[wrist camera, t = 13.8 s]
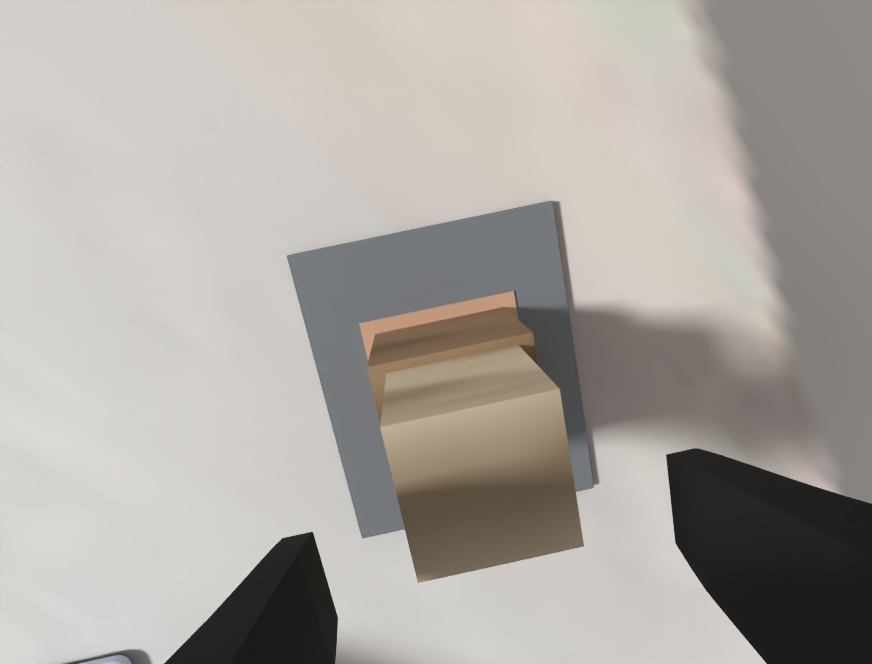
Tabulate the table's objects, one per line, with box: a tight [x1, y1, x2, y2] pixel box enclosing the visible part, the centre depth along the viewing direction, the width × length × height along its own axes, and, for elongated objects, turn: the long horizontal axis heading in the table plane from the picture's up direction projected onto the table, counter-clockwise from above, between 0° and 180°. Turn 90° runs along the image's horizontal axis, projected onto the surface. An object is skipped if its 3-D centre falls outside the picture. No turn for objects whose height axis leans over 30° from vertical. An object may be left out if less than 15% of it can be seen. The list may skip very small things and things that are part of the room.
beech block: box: [380, 345, 584, 583], centre depth 13 cm, size 4×4×4 cm
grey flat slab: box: [287, 201, 594, 538], centre depth 20 cm, size 12×10×1 cm
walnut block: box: [367, 307, 538, 424], centre depth 17 cm, size 5×5×4 cm
